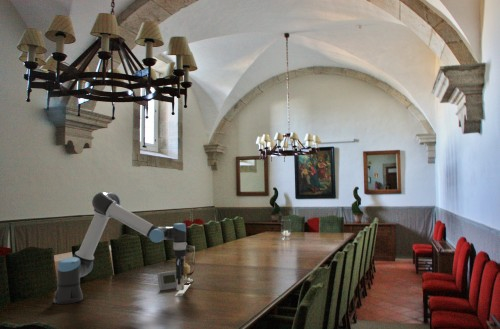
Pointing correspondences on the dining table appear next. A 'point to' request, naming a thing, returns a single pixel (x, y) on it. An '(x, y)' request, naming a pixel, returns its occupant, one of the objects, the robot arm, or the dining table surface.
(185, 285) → the lath
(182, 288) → the tan wooden block
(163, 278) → the digital clock
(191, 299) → the dining table surface
